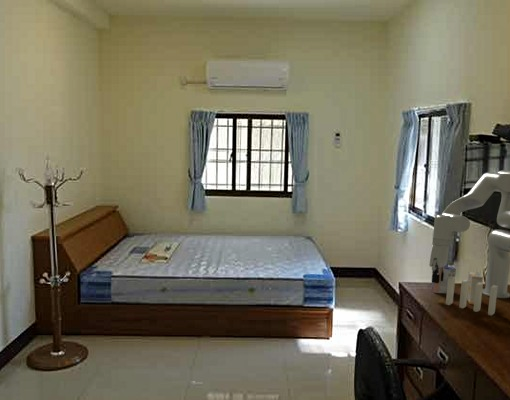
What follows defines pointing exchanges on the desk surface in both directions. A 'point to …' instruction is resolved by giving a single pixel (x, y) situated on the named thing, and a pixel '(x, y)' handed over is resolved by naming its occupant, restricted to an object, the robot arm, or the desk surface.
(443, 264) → the robot arm
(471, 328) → the desk surface
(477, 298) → the domino
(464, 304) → the domino
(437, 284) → the domino
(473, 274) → the supplement box
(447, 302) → the domino
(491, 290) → the domino
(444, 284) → the ink cartridge box
